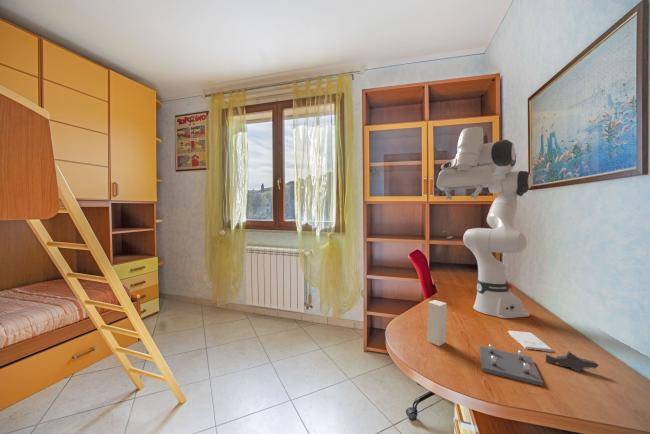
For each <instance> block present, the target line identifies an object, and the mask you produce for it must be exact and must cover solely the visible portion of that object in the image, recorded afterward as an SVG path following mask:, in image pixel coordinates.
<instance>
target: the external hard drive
mask: <svg viewBox="0 0 650 434" xmlns="http://www.w3.org/2000/svg"><path fill="white" fill-rule="evenodd" d="M508 333H509V336H510V337H511V338H513V339H514V340H515V341H516V342H517V343H518V344H519V343H520V344H521V345H522V346H523V347H524V348H523V347H522V348H523V349H525V350H528V349H534V350H533V351H540V350H541V351H540V352H549V353H553V352H554V351H553V349H552V348H551V347H550V346H548V345H547V344H546V343H545V342H544V341H543V340H541V339H540V338H539V337H537V335H535V334H534V333H532V332H530V331H529V332H528V331H520V330H519V331H518V330H507V334H508ZM520 344H519V345H520ZM521 345H520V346H521Z"/></svg>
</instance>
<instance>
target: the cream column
mask: <svg viewBox="0 0 650 434" xmlns="http://www.w3.org/2000/svg"><path fill="white" fill-rule="evenodd" d="M426 324H427V329H426V330H427V331H426V342H428V343H430V344H433V345H435V346H438V347H441V346H442V345H443V344H445V343H446V334H447V302H443V301H440V300H436V299H433V300H431V301H428V302H427V323H426Z"/></svg>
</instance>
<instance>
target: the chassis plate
mask: <svg viewBox="0 0 650 434" xmlns="http://www.w3.org/2000/svg"><path fill="white" fill-rule="evenodd" d="M478 351H479V357H480V365H481V372H483V373H487V374H490V375H494V376H499V377H502V378H507V379H509V380H510V379H511V380H516V381H519V382H522V383H523V382H524V383H527V384H530V383H531V385H534V384H536V385H535V386H538V385H540V386H539V387H542V386H543V387H544V381H543V379H542V378H541V375H540V373H539V371H538V369H537V367H536V365H535V363H534V361H533V359H532V357H531V356H526V355H525V353H524V352H525V351H523V350H521V349H519V350H518V351H517V353H513V352H509V351H504V350H499V349H495V346H494V344H492V343H489V344H488V347H484V346H481V345H480V346H479V348H478Z"/></svg>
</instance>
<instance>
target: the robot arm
mask: <svg viewBox="0 0 650 434" xmlns="http://www.w3.org/2000/svg"><path fill="white" fill-rule="evenodd" d="M456 151H457V153H456V154H455V157H454V158H453V159H451V160H450V161H447V162H445V163H443V164H442V165H441V167H440V169H441V170H440V172H438V176H437V180H436V187H437V189H438V190H439V191H444V193H445V196H446V197H445V199H446V200H447V201H451V200H452V199H453V195H452V194H450V193H451V191H454V190H455V191H456V190H466V189H467V190H468V189H475V190H474V192H471V196H470V197H471V199H472V200H477V199H478V197H479V194H480V193H481V192H483V193H484V194H487V195H488V194H489V195H491V194H498V195H496V197H495V198H494V200H493V201H492V204H491V205H490V207H489V211H488V213H487V217H486V223H487V225H488V226H489V227H490V228H485V227H475V228H468V229H467V230H465V232H464V234H463V237H462V241H463V244H464V246H465V247H466V248H467V249H469V250H470V251H471V252H472V254H473V255H474V257H475V259H476V262H477V273H478V274H477V275H478V276H477V279H476V297H475V302H474V305H473V307H472V308H473V309H474V310H475V311H477V312H479V313H480V314H484V315H488V316H492V317H496V318H499V319H514V318H524V317H525V318H526V317H530V313H529V312H528V311H527V310H526V309H524V305H523V302H522V300H521V298H519V297H518V296H516V295H515V294H514V293H512V292H511V291H510V289H511V290H514V289H515V285H514V284H512V283H508V282H506V281H507V279H506V277H507V275H506V274H507V268H506V266H505V264H504V262H502V261H500V260H498V259H497V258H495V256H494V255H493V253H498V254H508V255H510V254H521V253H522V252H523V251H525V250H526V248H527V244H528V241H527V237H526V236H525V234H524V233H523V232H521V231H520V230H519V229H517V228H516V227H515V225H514V224H515V217H516V214H517V211H518V197H520V198H521V197H523V196H524V194H526V193H527V192H529V190H530V189H531V187H532V186H533V185H532V184H533V177H532V174H531V173H530V172H529V171H525V170H519V171H517V170H516V171H514V170H513V169H514V166H515V165H516V163H517V153H516V147H515V145H514V143H513V142H512V141H510V140H509V139H503V140H502V139H501V140H497V141H494V142H493V141H492V142H486V143H484V129H483V127H481V126H473V125H472V126H469V127H468V126H467V127H465V128H463V129H462V130H461V132H460V135H459V138H458V141H457V145H456Z"/></svg>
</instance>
